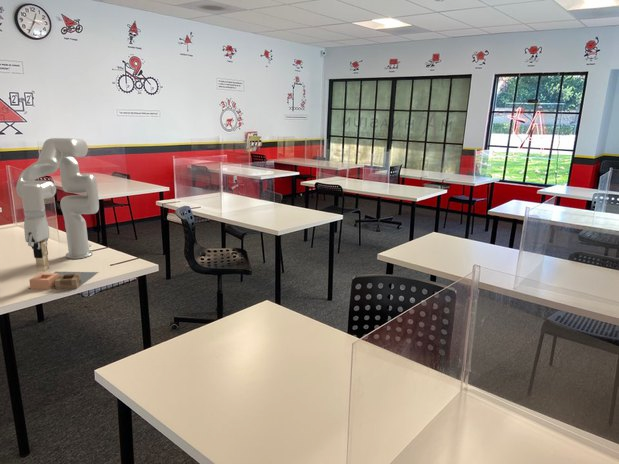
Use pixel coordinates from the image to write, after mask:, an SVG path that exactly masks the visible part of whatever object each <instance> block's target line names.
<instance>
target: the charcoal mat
mask: <svg viewBox="0 0 619 464" xmlns="http://www.w3.org/2000/svg"><path fill="white" fill-rule="evenodd" d="M53 273H59V275H60V274H74V273H80V276H81V283H80V284H79V286H78V288H76V289H69V290H74V291H76V290H78V289H79V288H80V287H81V286H83V285H84V284H86V283H87V282H88V281H89V280H91V279H92V278H93V277H95V276H96V275H97V274H98V273H100V272H99V271H98V272H97V271H55V272H53ZM28 289H29V290H32V289H31V288H30V287H29V288H28ZM50 290H56V286H54V287H52V288H51V289H50Z"/></svg>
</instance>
